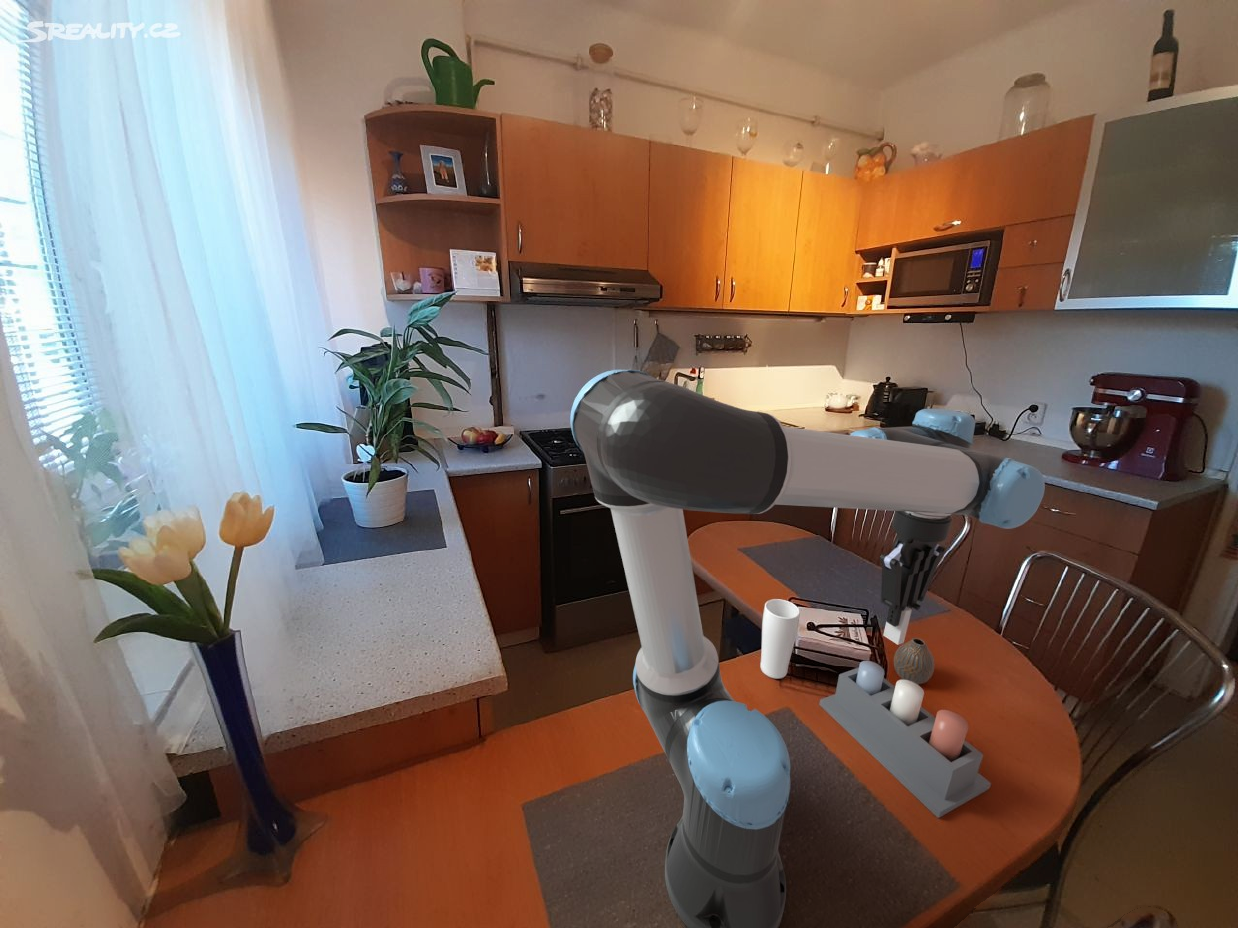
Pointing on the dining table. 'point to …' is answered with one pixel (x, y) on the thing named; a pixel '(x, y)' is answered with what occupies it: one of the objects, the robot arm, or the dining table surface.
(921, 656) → the vase
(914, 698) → the white rounded cylinder
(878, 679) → the light blue rounded cylinder
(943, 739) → the pink rounded cylinder
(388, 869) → the dining table surface
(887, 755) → the grey slotted holder
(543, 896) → the dining table surface
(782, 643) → the drinking glass
